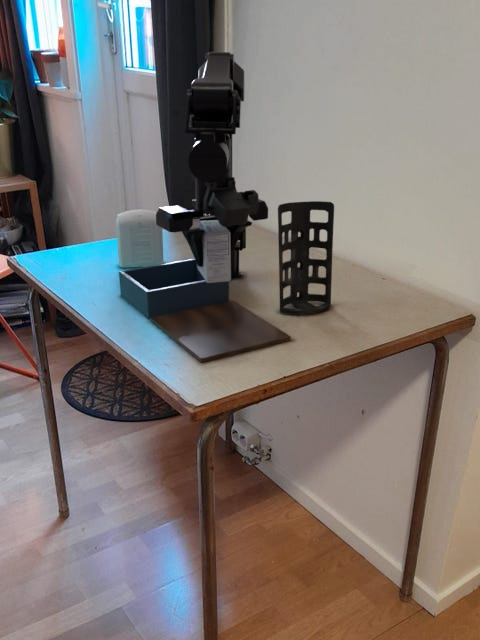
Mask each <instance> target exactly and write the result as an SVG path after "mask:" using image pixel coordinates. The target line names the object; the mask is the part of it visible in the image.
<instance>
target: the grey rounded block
mask: <svg viewBox="0 0 480 640" xmlns="http://www.w3.org/2000/svg"><path fill="white" fill-rule="evenodd" d="M156 213H157V211H154V210H149V209H130V210H127V211H122V212H121V213H118V214H117V215H116V216H117V217H116V220H115V231H116V245H117V259H118V267H120V268H141V267H147V266H153V265H159V264H165V263H164V262H165V261H164V236H163V228H161V227H160V226H158V225H156Z"/></svg>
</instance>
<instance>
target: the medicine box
mask: <svg viewBox="0 0 480 640" xmlns="http://www.w3.org/2000/svg"><path fill="white" fill-rule="evenodd" d="M200 228H201V229H203V230H205V232H204V234H203V237H202V248H203V266H202V267H199V266H198V265H197V269H198V270H199V272H200V273H201V275H202V276H203V277H204V279H205V280H206V282H207V283H218V282H229V283H230V282H231V281H232V279H231V243H230V231H229V230H228V229H227V228H226V227H223V226H221V225H220V224H219V221H218V220H208V221H206V220H204V221H200Z"/></svg>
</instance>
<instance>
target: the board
mask: <svg viewBox="0 0 480 640" xmlns="http://www.w3.org/2000/svg"><path fill="white" fill-rule="evenodd" d="M149 320H150V323H151V324H153V325H154V326H155V327H157V328H158V329H159V330H160V331H161V332H162V333H164V334H165V335H167V336H168V337H169V338H170V339H171V340H173V342H175V343H176V344H178V345H179V346H180V347H181V348H182V349H184V350H185V351H186V352H187V353H188V354H190V355H191V356H192V357H194V358H195V359H196V360H197V361H198V362H199V363H202V364H203V363H206V362H209V361H210V362H211V361H214V360H218V359H222V358H225V357H229V356H235V355H237V354H238V355H239V354H242V353H246V352H250V351H253V350H259V349H262V348H266V347H270V346H274V345H277V344H281V343H286V342H290V341H291V339H292V338H291V335H289V334H287V332H284V331H283V330H282V329H280V328H278V327H276V326H275V325H273V324H272V323H270V322H268V321H267V320H265V319H264V318H263V317H260V316H259V315H257V314H255V313H254V312H252V311H250V310H249V309H248V308H246V307H244V306H243V305H241V304H240V303H238V302H236V301H235V300H229V302H224V303H219V304H214V305H209V306H205V307H200V308H195V309H190V310H185V311H181V312H176V313H171V314H166V315H161V316H156V317H152V318H150V319H149Z"/></svg>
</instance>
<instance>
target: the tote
mask: <svg viewBox="0 0 480 640" xmlns="http://www.w3.org/2000/svg"><path fill="white" fill-rule="evenodd" d="M118 278H119V291H120V297H121V298H122V299H123V300H125V301H126V302H127V303H128V304H129V305H131V306H132V307H133V308H134V309H136V311H138V312H139V313H140V314H141V315H143V316H144V317H145V318H147V319H148V320H150V318H152V317H156V316H161V315H166V314H171V313H176V312H181V311H185V310H190V309H195V308H200V307H205V306H209V305H214V304H219V303H224V302H229V301H230V281H229V282H218V283H207V282H206V280H205V279H204V277H203V276H202V275H201V273H200V272H199V270H198V269H197V262H196V260H195V258H194V257H193V258H189V259H183V260H177V261H170V262H165V263H164V264H159V265H153V266H145V267H134V268H129V269H124V270H119V271H118Z"/></svg>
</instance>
